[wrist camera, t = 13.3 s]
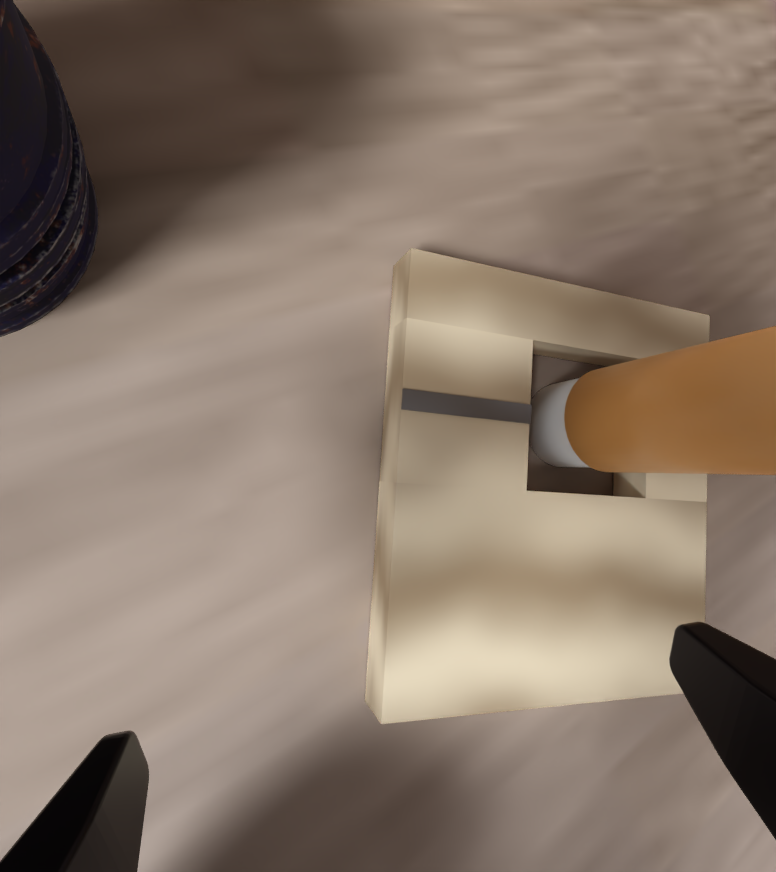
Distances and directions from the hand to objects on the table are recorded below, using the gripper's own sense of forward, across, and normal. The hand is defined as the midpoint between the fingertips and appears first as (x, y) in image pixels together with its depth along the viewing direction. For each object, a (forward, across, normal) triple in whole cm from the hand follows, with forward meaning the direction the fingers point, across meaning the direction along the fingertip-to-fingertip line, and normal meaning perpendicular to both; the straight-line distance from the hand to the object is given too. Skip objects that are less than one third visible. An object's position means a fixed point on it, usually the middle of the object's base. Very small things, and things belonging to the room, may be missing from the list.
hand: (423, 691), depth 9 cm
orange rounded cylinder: (+15, -10, +3) cm, 19 cm away
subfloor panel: (+14, -9, +5) cm, 17 cm away
